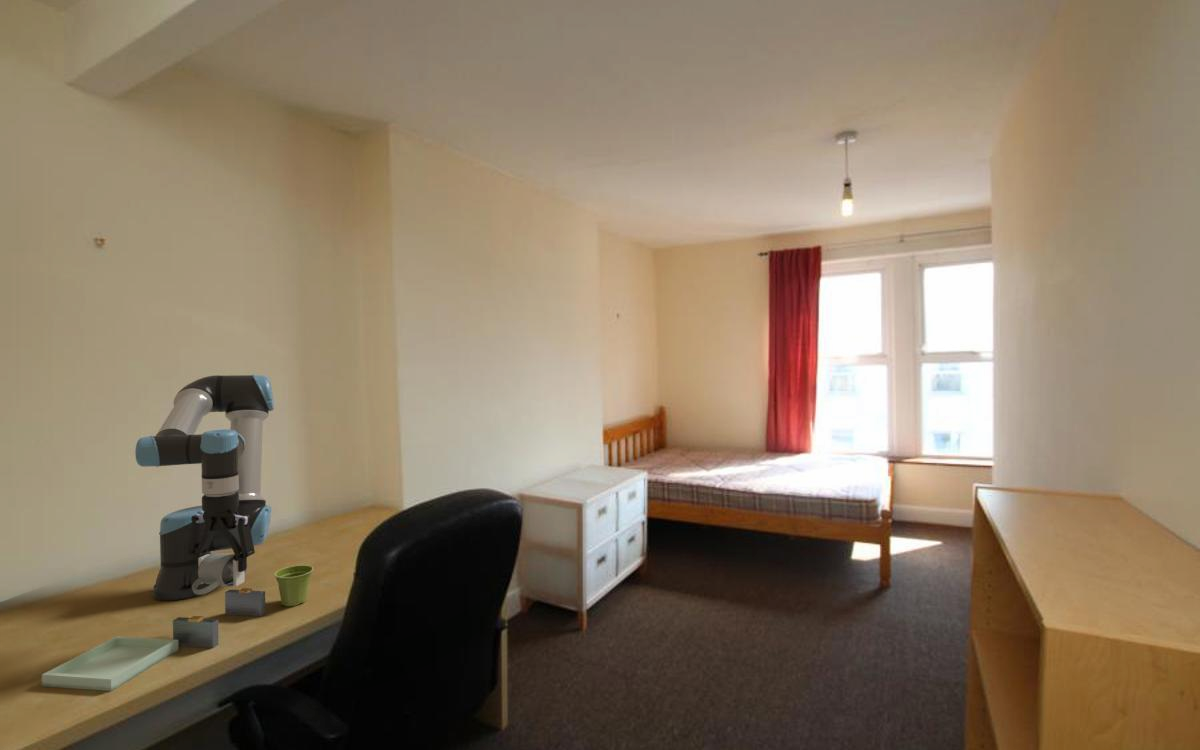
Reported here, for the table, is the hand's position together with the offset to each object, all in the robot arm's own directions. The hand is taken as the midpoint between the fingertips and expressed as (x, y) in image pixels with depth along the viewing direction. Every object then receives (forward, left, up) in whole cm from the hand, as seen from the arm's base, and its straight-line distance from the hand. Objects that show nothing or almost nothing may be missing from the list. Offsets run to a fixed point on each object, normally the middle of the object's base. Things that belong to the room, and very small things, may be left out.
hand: (221, 582), depth 135 cm
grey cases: (0, 0, -11) cm, 11 cm away
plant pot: (+8, +16, -12) cm, 21 cm away
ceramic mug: (0, -1, -1) cm, 1 cm away
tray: (-10, -18, -11) cm, 24 cm away
